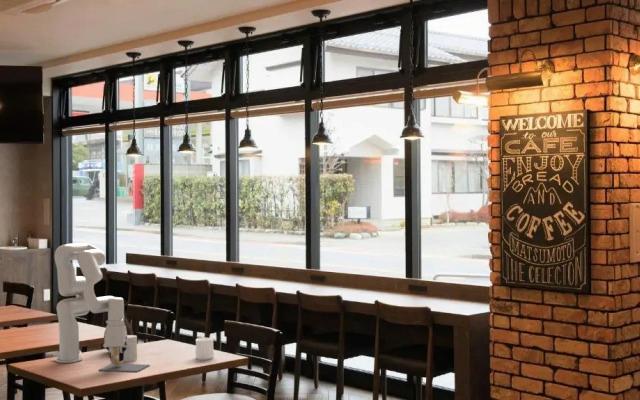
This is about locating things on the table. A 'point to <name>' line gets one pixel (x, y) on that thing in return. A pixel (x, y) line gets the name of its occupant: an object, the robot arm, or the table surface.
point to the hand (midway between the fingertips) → (116, 360)
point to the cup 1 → (131, 349)
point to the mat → (125, 368)
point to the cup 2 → (204, 348)
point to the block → (115, 356)
